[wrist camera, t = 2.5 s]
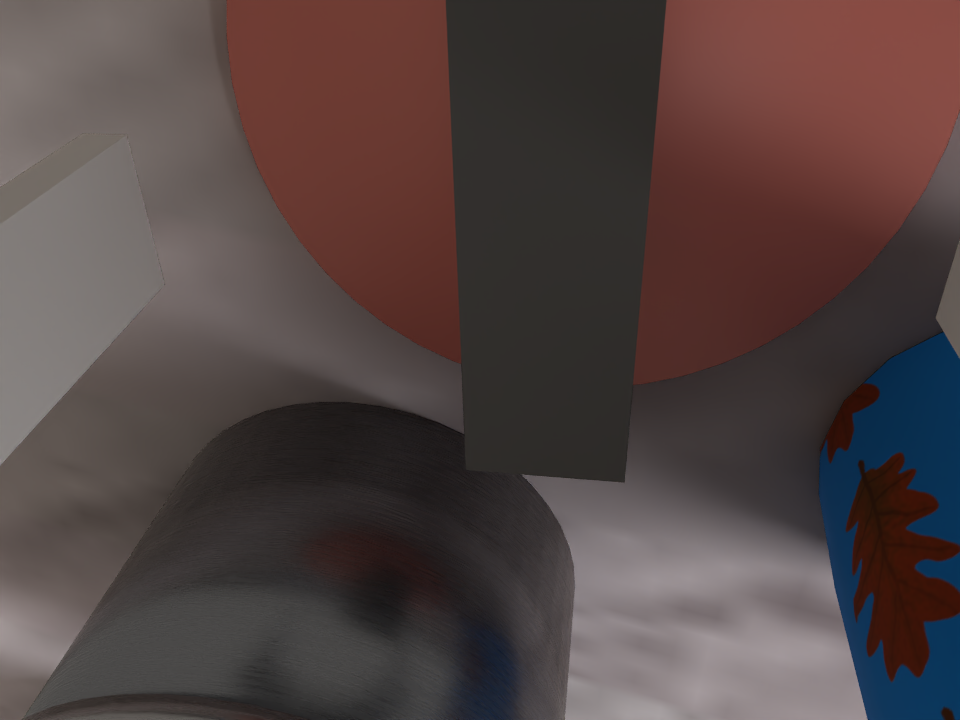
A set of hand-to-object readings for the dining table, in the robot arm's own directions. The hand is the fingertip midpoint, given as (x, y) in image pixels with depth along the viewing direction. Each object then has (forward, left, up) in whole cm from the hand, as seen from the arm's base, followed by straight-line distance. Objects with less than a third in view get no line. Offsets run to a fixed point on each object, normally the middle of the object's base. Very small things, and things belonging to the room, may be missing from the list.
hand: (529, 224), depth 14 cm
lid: (0, 0, -9) cm, 9 cm away
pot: (+7, +18, -9) cm, 21 cm away
